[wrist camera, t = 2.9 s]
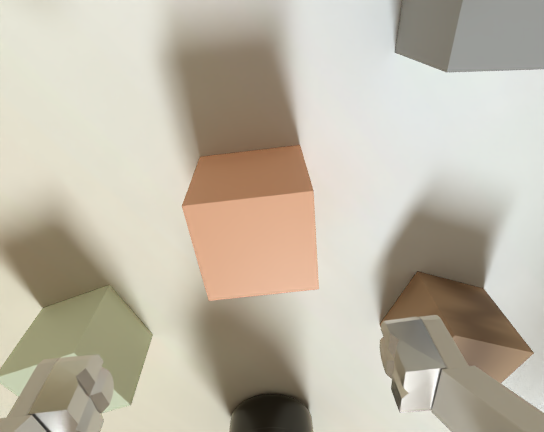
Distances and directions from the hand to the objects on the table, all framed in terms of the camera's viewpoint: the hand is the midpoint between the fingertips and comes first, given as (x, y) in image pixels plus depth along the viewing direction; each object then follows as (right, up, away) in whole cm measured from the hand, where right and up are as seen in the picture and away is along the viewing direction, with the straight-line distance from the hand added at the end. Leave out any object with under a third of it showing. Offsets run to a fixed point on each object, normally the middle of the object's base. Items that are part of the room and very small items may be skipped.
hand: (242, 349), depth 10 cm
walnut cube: (+12, -2, +14) cm, 18 cm away
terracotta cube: (0, +5, +9) cm, 10 cm away
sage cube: (-11, -3, +13) cm, 17 cm away
